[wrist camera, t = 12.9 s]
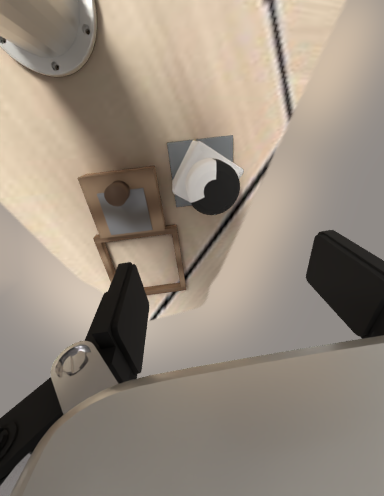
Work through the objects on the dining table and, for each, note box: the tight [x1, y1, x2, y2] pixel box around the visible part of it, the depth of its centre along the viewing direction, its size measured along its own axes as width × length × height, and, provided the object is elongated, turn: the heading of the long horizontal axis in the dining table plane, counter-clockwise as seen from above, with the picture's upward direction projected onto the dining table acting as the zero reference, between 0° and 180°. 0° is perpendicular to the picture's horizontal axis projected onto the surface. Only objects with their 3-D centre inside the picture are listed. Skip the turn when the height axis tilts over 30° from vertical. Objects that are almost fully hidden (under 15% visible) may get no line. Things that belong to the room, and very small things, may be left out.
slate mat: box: [167, 135, 233, 207], centre depth 32 cm, size 10×10×1 cm
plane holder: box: [78, 166, 186, 295], centre depth 35 cm, size 26×15×6 cm, turn 6°
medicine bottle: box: [172, 140, 244, 215], centre depth 27 cm, size 7×7×12 cm
